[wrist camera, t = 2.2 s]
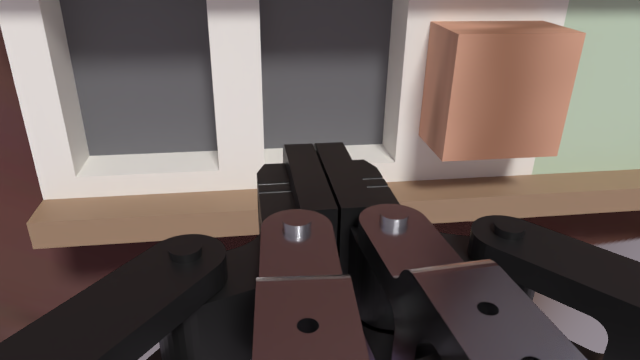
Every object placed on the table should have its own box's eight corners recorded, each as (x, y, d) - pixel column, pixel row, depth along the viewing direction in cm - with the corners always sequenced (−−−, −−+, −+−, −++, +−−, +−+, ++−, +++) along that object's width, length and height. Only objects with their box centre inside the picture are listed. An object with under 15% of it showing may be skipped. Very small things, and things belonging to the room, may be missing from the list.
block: (543, 20, 22) (586, 33, 19) (521, 131, 24) (557, 156, 21) (430, 21, 21) (458, 34, 18) (418, 135, 23) (442, 161, 21)
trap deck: (766, -67, 24) (885, -66, 20) (683, 165, 29) (763, 207, 25) (3, -82, 20) (-65, -85, 15) (66, 197, 25) (29, 255, 20)
